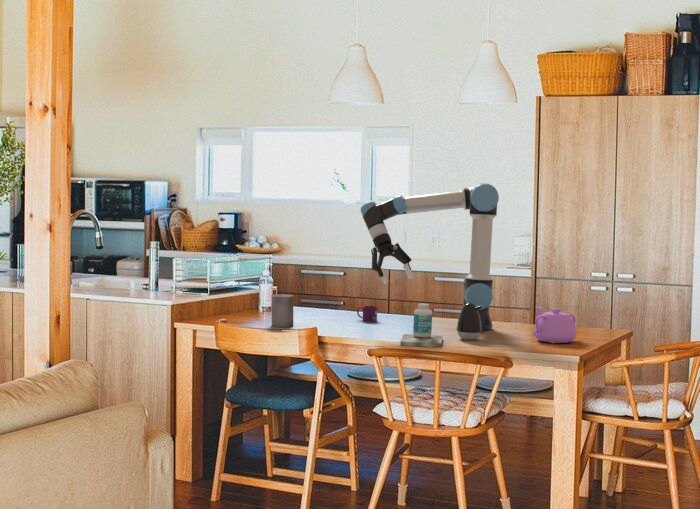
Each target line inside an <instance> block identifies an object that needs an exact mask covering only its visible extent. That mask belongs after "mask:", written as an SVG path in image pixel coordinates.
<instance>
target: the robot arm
mask: <svg viewBox="0 0 700 509" xmlns="http://www.w3.org/2000/svg"><path fill="white" fill-rule="evenodd" d="M499 198H500V196H499V193H498V190H497V188H496V187H495V186H493V185H492V184H491V183H485V182H483V183H479V184H476V185H473V186H471V187H462V189H461V190H456V191H448V192H447V191H446V192H441V193H439V192H438V193H428V194H422V195H412V196H405V197H404V196H403V195H401V194H399V195H396V196H394V197H392V198H389V199H387V200H385V201H383V202H381V203H378V204H377V202H375V201H370V202H366V203H364V204H363V205H362V206H361V207H360V213H361V216H362V219H363V221H364V223H365V225H366V228H367V230H368V233H369V235H370V238H371V239H372V242H373V245H374V246H373V248H371V250H370V252H371V270H372V271H375V272H376V273H377V274H378V277H379V278H380V279H381V280H382V283H383V285H384V286H385V285H387V284H388V283H389V279H388V277H387V274H386V272H385V269H384V267H382V265H383V262H384V259H385V258H386V257H393V258H395V259H396V260H397V261H399V262H400V263H401V264H403V266H402V267H403V269H404V271H405V273H406V276H407V278H408V280H411V279H412V278H413V277H414V274H413V272H412V268H411V265H410V262H411V261H412V258H411V257H410V255H408V254H407V253H406V252H405V250H403V248H402V247H401V246H400V244H399V243H398V242H396V243H395V244H393V243H392V238H391V236H390V233H389V231H388V229H387V226H386V225H385V221H386V220H389V219H390V218H394V217H395V216H399V215H409V214H416V213H417V214H418V213H426V212H437V211H443V210H444V211H445V210H455V209H460V208H461V209H463V210H465V211H466V210H467V211H468V210H469V216H470V217H471V218H472V225H471V226H472V227H471V239H470V240H471V242H470V243H471V244H470V258H469V259H470V261H469V274H467V275H466V276H465V277H464V279H463V283H462V285H463V289H462V290H463V292H462V293H463V295H462V308H463V307H464V305H465V304H467V303H472V304H474V305H475V306H476V307H478V306H482V308H481V309H479V310H478V312H479V316H480V320H481V328H482V331H481V332H485V331H486V332H487V331H488V332H489V331H492V330H493V321H492V319H491V318H492V317H491V315H490V305H491V303H492V302H493V300H494V294H493V285H494V284H493V282H494V278H493V277H492V276H491V275H490V274H491V273H490V272H491V256H492V254H491V253H492V239H493V223H494V222H493V221H494V219H495V217H497V216H498V214H497V212H498V203H499Z"/></svg>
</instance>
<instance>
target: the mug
mask: <svg viewBox="0 0 700 509" xmlns="http://www.w3.org/2000/svg"><path fill="white" fill-rule="evenodd" d="M360 309H362V316H361V315H360V314H359V313H360V312H359V311H360ZM356 314H357V317H358V318H360V319H362V322H364V323H377V322H378V306H375V305H363V306H359V307H358V308H357V310H356Z"/></svg>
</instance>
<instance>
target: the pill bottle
mask: <svg viewBox="0 0 700 509" xmlns="http://www.w3.org/2000/svg"><path fill="white" fill-rule="evenodd" d="M429 308H430V304H429V303H425V302H424V303H423V302H420V303H417V308H416V309H414V312H413V327H412V328H413V329H412V331H413V332H412V335H413V336H415V337H419V338H429V337H431V335H432V326H433V311H432V310H431V309H429Z"/></svg>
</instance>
